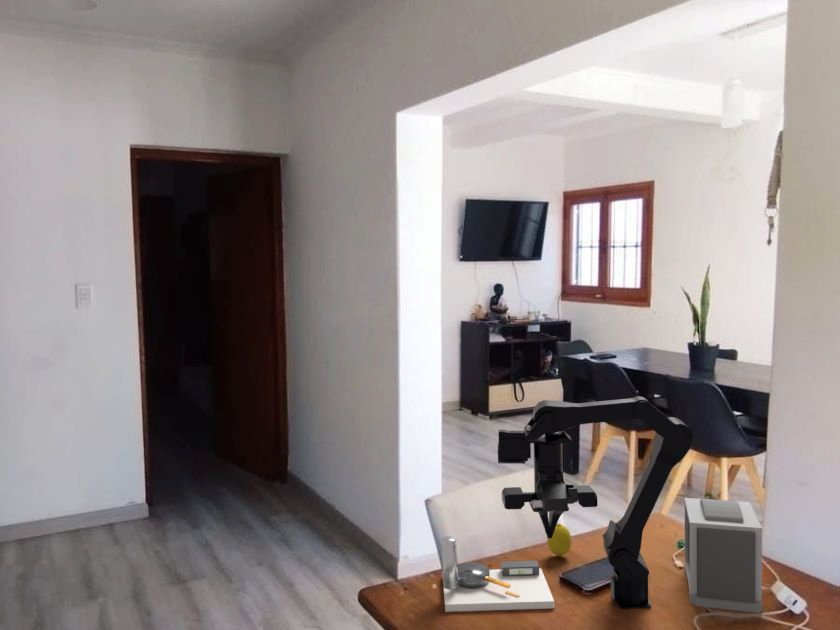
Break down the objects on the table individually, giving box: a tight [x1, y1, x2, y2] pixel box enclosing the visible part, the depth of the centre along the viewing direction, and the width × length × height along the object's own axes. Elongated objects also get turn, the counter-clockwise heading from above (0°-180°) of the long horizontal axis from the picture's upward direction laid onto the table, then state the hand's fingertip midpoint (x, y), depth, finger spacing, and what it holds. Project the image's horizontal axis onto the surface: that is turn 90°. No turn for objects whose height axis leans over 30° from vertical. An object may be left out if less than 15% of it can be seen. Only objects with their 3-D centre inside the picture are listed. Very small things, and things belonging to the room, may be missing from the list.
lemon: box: [546, 523, 572, 558], centre depth 160 cm, size 6×6×8 cm
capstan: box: [441, 535, 511, 589], centre depth 142 cm, size 14×12×11 cm
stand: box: [443, 560, 555, 613], centre depth 144 cm, size 22×15×4 cm
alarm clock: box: [684, 497, 763, 614], centre depth 142 cm, size 18×13×18 cm
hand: (549, 537), depth 140 cm, fingers closed
